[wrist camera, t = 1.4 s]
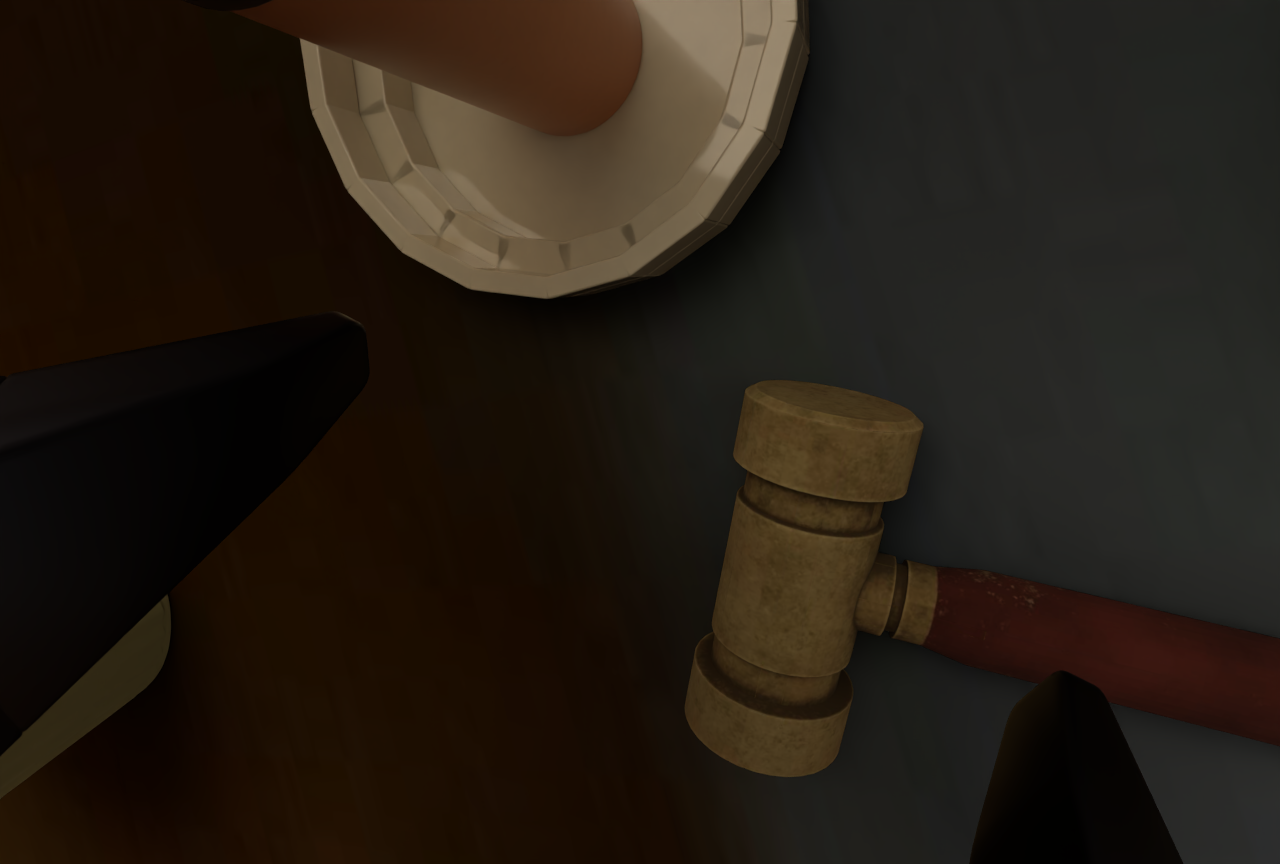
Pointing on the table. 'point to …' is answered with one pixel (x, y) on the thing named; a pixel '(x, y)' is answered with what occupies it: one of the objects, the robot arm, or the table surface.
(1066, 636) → the gavel
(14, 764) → the potted cactus
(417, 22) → the copper tin
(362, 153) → the bowl
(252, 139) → the table surface
